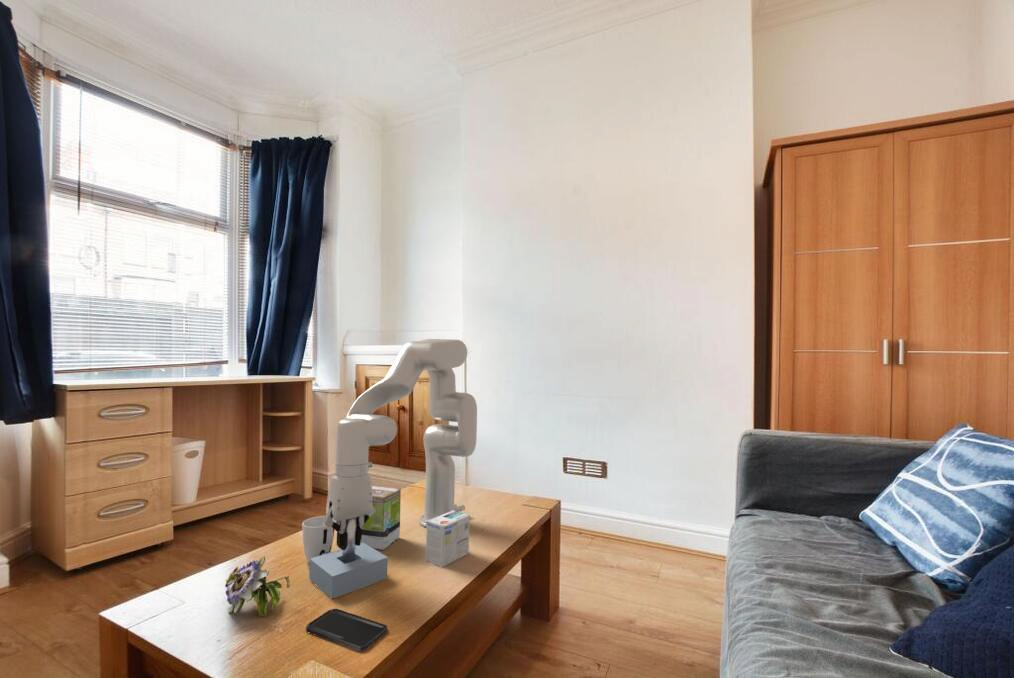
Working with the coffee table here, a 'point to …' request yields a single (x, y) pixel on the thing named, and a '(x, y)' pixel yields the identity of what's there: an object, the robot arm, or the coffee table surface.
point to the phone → (347, 629)
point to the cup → (317, 537)
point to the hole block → (347, 570)
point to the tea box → (383, 518)
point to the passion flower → (252, 587)
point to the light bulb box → (447, 538)
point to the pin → (350, 540)
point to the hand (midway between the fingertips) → (349, 545)
